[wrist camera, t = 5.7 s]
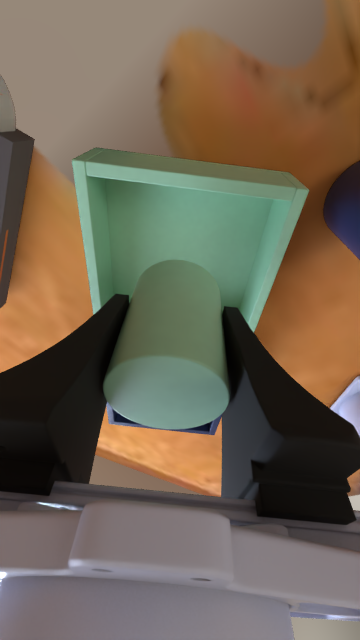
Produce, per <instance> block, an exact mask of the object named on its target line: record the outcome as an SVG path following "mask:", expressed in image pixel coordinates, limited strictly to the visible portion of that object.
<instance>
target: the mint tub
mask: <svg viewBox="0 0 360 640" xmlns="http://www.w3.org/2000/svg"><path fill="white" fill-rule="evenodd" d="M72 166H73V173H74V180H75V187H76V194H77V201H78V208H79V215H80V222H81V229H82V236H83V243H84V251H85V258H86V265H87V272H88V279H89V286H90V293H91V300H92V307H93V314H95V313H96V312H97V311H98V310H99V309H100V308H101V307H102V306H103V305H104V304H105V303H106V302H107V301H108V300H109V299H110V298H111V297H112V296H113V295H115V294H124V295H129V303H130V300H131V297H132V294H133V291H134V288H135V286H136V283H137V280H138V279H139V277H140V275H141V274H142V273H143V272H144V271H145V270H146V269H147V268H149V267H150V266H152V265H154V264H156V263H159V262H162V261H166V260H175V259H176V260H185V261H189V262H193V263H195V264H197V265H199V266H201V267H203V268H204V269H206V270H207V271H208V272H209V273H210V274H211V275H212V276H213V277H214V279H215V280H216V282H217V284H218V287H219V290H220V298H221V308H222V313H223V309H224V306H228V307H236V308H238V309H239V311H240V312H241V314H242V315H243V317H244V319H245V320H246V322H247V323H248V325H249V327H250V328H251V330H252V331H253V333H254V331H255V329H256V326H257V324H258V321H259V318H260V316H261V313H262V311H263V308H264V306H265V303H266V300H267V298H268V295H269V293H270V290H271V288H272V285H273V282H274V280H275V277H276V275H277V272H278V270H279V267H280V264H281V262H282V259H283V257H284V254H285V252H286V249H287V246H288V244H289V241H290V239H291V236H292V233H293V231H294V228H295V226H296V223H297V221H298V218H299V215H300V213H301V210H302V208H303V205H304V203H305V200H306V197H307V195H308V192H309V189H308V188H307V187H305V186H304V185H303V184H302V183H301V182H300V181H298V180H297V179H296V178H295V177H294V176H293V175H292V174H291V173H289V172H282V171H274V170H266V169H259V168H251V167H243V166H235V165H228V164H220V163H212V162H204V161H197V160H189V159H181V158H173V157H165V156H158V155H150V154H142V153H135V152H127V151H119V150H111V149H103V148H94V149H92V150H90V151H88V152H86V153H84V154H82V155H80V156H78V157H76V158H74V159H72Z"/></svg>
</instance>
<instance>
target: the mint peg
mask: <svg viewBox="0 0 360 640" xmlns="http://www.w3.org/2000/svg"><path fill="white" fill-rule="evenodd" d="M103 392H104V396H105V398H106V400H107V402H108V403H109V405H110V406H111V407H112V408H113V409H114V410H115V411H117V412H118V413H119V414H121V415H122V416H124V417H125V418H127V419H129V420H131V421H134V422H136V423H139V424H142V425H145V426H149V427H154V428H161V429H187V428H193V427H197V426H201V425H204V424H206V423H209V422H211V421H213V420H215V419H216V418H217V417H219V416H220V415H221V414H222V413H223V412H224V411H225V410H226V408H227V406H228V404H229V401H230V385H229V376H228V366H227V356H226V347H225V337H224V327H223V318H222V308H221V298H220V290H219V287H218V284H217V282H216V280H215V279H214V277H213V276H212V275H211V274H210V273H209V272H208V271H207V270H206V269H204V268H203V267H201V266H199V265H197V264H195V263H193V262H189V261H185V260H176V259H175V260H166V261H162V262H159V263H156V264H154V265H152V266H150V267H149V268H147V269H146V270H145V271H144V272H143V273H142V274H141V275H140V277H139V279H138V280H137V283H136V286H135V288H134V291H133V294H132V297H131V300H130V303H129V306H128V309H127V312H126V315H125V318H124V321H123V324H122V327H121V330H120V333H119V336H118V339H117V342H116V345H115V348H114V351H113V354H112V357H111V360H110V363H109V366H108V369H107V372H106V375H105V378H104V382H103Z"/></svg>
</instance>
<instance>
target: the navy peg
mask: <svg viewBox="0 0 360 640" xmlns="http://www.w3.org/2000/svg"><path fill="white" fill-rule="evenodd" d="M323 212H324V219H325V222H326V224H327V226H328V227H329V229H330V230H331V231H332V232H333V233H334V234H335V235H336V236H337V237H338V238H339V239H340V240H341V241H342V242H343V243H344V244H345V245H346V246H347V247H348V248H349V249H350V250H351V251H352V252H353V253H354V254H355V255H356V257H357V258H358V259H359V260H360V161H359V162H357V163H355V164H354V165H352V166H351V167H349V168H348V169H347V170H346V171H344V172H343V173H342V174H341V175H340V176H339V177H338V178H337V180H336V181H335V182H334V184H333V185H332V187H331V188H330V190H329V192H328V194H327V197H326V199H325V203H324V210H323Z"/></svg>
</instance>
